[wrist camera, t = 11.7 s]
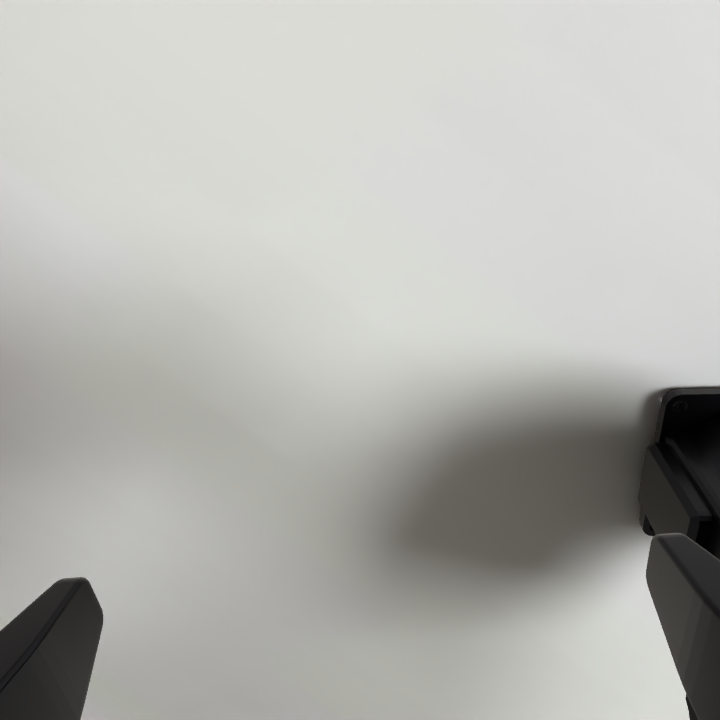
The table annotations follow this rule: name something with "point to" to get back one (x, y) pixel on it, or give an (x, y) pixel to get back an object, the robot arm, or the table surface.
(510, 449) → the table surface
